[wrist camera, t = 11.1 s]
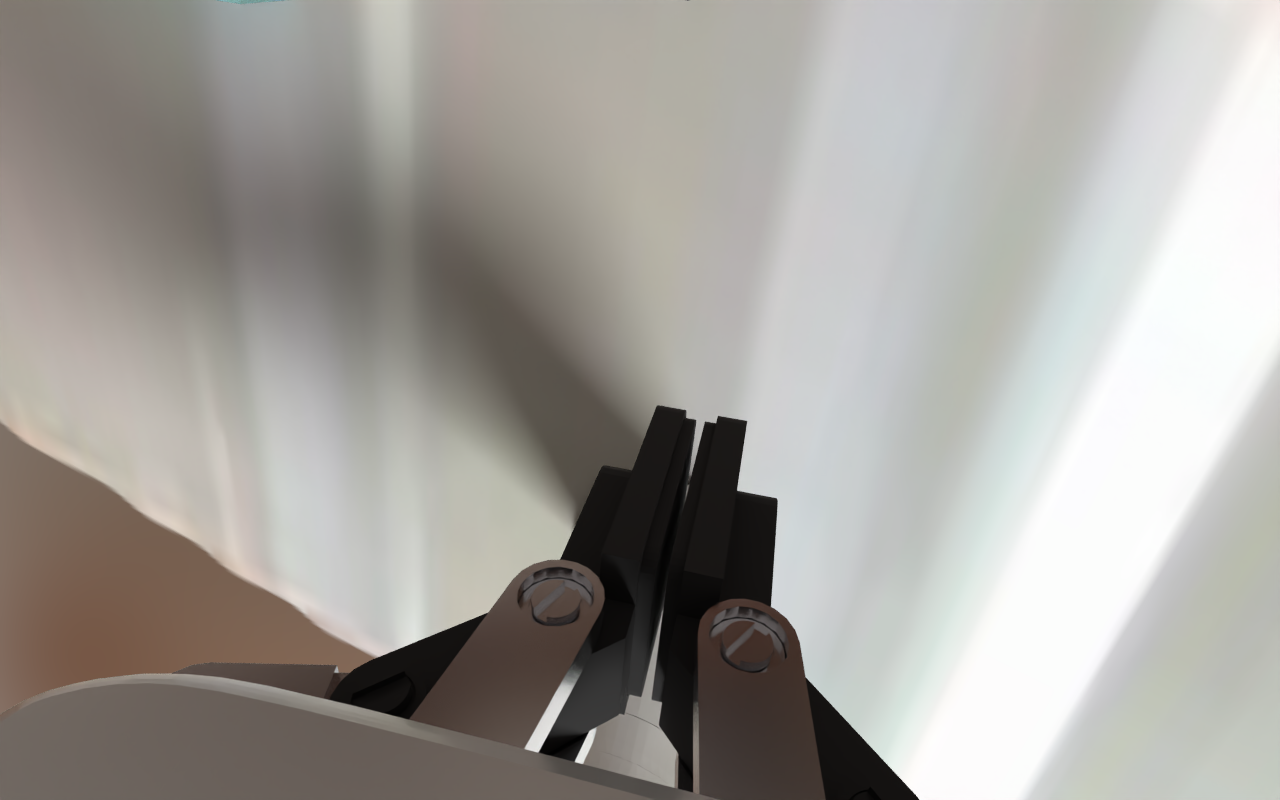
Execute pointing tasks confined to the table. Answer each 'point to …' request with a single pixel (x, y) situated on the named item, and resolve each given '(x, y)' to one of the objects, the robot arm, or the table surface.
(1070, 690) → the table surface
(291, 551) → the table surface
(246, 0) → the teal u-shaped frame
